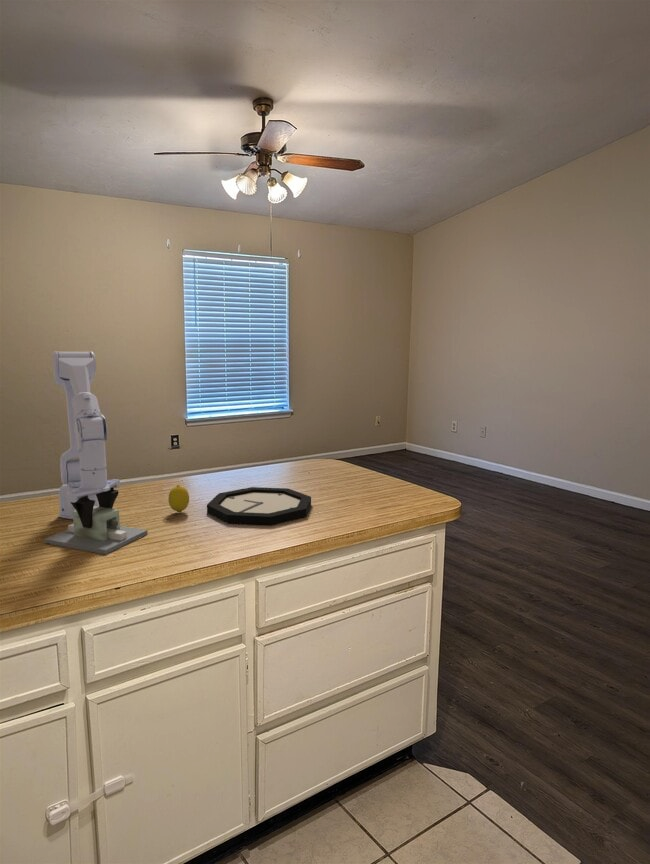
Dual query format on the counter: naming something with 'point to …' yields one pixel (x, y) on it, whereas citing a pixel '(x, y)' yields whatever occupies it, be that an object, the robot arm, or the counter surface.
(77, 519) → the cabinet block
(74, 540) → the cleat board
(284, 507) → the wall clock
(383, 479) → the counter surface
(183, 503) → the lemon
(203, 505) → the counter surface
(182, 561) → the counter surface
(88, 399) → the robot arm
